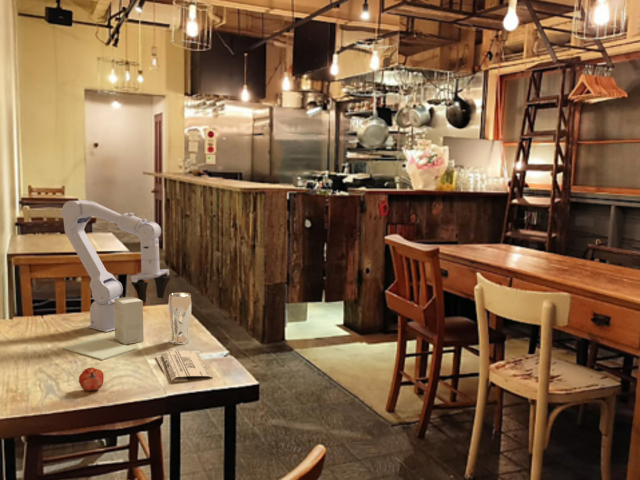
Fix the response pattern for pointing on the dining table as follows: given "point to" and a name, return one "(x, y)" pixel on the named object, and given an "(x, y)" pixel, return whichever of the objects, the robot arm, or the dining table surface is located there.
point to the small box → (128, 320)
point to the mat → (99, 348)
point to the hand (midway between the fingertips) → (151, 300)
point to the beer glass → (179, 317)
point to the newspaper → (182, 365)
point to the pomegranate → (91, 379)
